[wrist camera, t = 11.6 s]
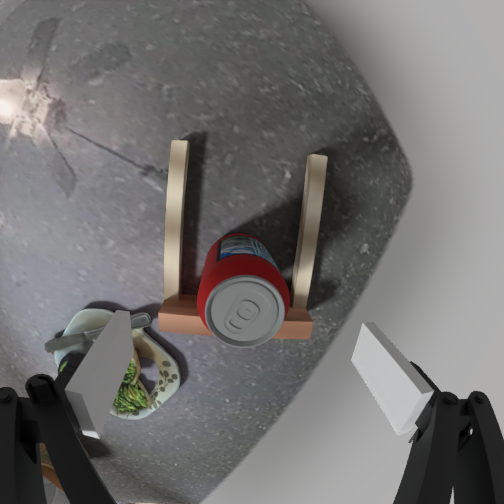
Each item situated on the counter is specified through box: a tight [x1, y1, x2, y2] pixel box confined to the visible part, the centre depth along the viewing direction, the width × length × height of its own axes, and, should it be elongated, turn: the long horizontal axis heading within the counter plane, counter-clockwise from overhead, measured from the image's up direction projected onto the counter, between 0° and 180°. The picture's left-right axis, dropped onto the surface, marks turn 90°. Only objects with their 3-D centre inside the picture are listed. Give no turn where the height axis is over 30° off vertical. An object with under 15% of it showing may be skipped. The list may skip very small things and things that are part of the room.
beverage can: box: [197, 233, 290, 348], centre depth 24 cm, size 7×7×12 cm
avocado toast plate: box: [45, 308, 181, 420], centre depth 30 cm, size 19×18×5 cm
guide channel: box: [158, 140, 328, 339], centre depth 27 cm, size 18×15×5 cm
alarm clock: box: [43, 477, 70, 504], centre depth 32 cm, size 16×10×18 cm, turn 111°
